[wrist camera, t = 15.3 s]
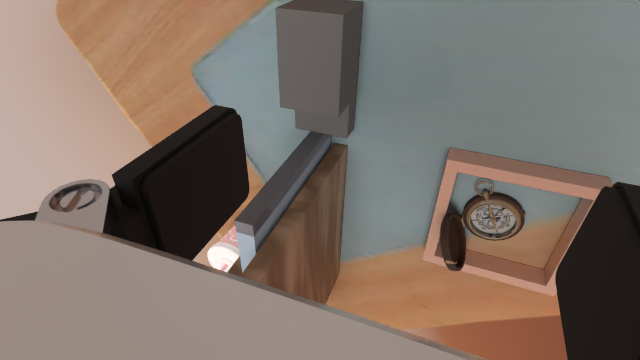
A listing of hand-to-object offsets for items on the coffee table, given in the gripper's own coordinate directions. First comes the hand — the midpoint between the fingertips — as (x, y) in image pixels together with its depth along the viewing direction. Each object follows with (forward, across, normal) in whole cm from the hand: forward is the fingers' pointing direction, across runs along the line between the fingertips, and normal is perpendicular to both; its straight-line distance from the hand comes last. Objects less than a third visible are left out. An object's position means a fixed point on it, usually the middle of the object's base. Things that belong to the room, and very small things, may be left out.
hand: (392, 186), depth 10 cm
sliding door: (+28, +12, +22) cm, 37 cm away
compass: (+29, -7, +20) cm, 36 cm away
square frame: (+28, -9, +21) cm, 36 cm away
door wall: (+28, +12, +27) cm, 41 cm away
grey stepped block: (+28, +12, +7) cm, 32 cm away
